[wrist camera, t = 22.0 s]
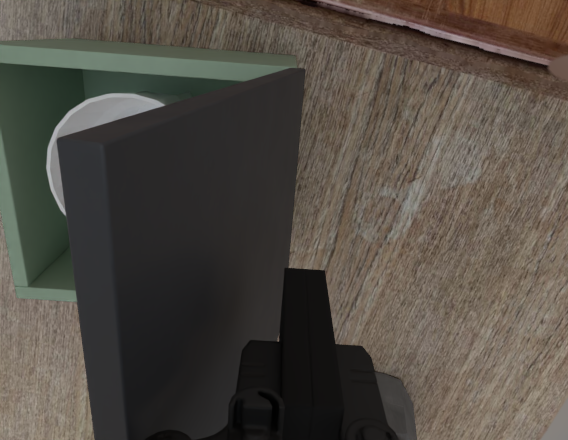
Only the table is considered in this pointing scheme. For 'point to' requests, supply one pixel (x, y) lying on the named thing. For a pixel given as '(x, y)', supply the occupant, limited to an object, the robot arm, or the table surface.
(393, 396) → the coffeepot
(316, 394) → the robot arm
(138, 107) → the cup
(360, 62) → the table surface
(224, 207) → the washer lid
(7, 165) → the green box
